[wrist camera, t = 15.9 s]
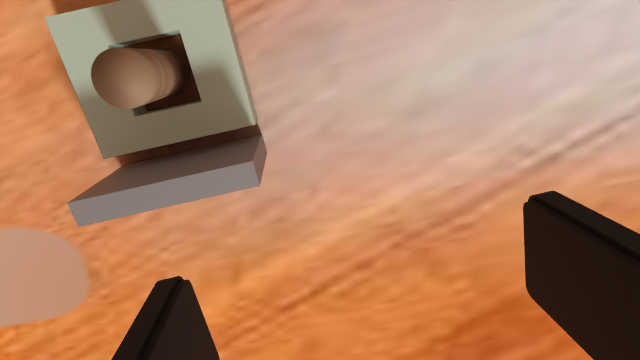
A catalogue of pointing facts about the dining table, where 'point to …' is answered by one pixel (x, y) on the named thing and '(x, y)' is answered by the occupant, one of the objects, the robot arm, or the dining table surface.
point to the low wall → (173, 180)
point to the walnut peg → (138, 76)
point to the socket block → (144, 25)
